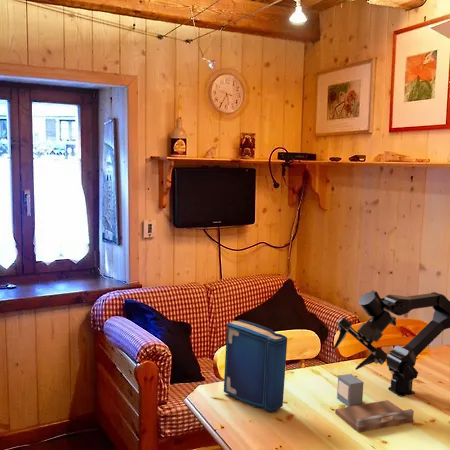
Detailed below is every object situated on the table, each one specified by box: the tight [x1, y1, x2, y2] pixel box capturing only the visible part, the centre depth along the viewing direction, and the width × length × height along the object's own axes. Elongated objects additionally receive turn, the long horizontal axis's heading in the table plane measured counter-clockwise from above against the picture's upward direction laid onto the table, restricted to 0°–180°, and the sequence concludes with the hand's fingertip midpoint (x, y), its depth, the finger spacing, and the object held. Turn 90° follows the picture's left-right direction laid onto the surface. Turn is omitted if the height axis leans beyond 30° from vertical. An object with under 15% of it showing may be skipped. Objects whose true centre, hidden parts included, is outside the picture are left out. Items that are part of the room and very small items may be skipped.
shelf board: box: [334, 399, 415, 433], centre depth 160 cm, size 20×12×4 cm, turn 111°
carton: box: [336, 373, 364, 407], centre depth 170 cm, size 5×7×8 cm
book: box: [223, 318, 288, 413], centre depth 168 cm, size 22×7×25 cm, turn 47°
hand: (344, 359), depth 169 cm, fingers open, 9 cm apart
